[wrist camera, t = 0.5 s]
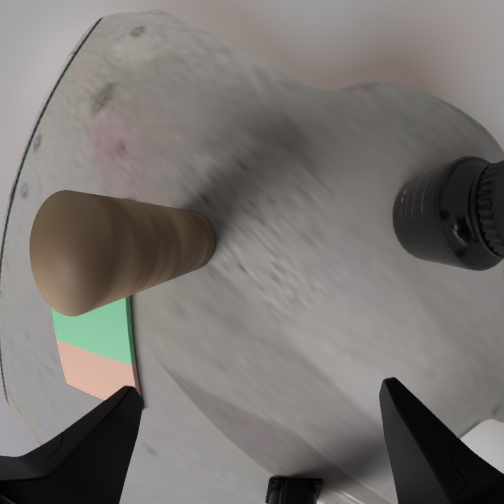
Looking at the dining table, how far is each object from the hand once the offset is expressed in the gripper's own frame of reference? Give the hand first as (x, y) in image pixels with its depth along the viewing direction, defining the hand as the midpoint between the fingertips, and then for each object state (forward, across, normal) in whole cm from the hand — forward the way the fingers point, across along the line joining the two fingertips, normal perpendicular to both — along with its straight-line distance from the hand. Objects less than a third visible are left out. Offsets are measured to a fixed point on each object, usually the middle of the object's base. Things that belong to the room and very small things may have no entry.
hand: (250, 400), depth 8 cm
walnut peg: (+15, +7, -1) cm, 16 cm away
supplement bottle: (+15, -13, 0) cm, 20 cm away
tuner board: (+13, +20, +5) cm, 24 cm away
